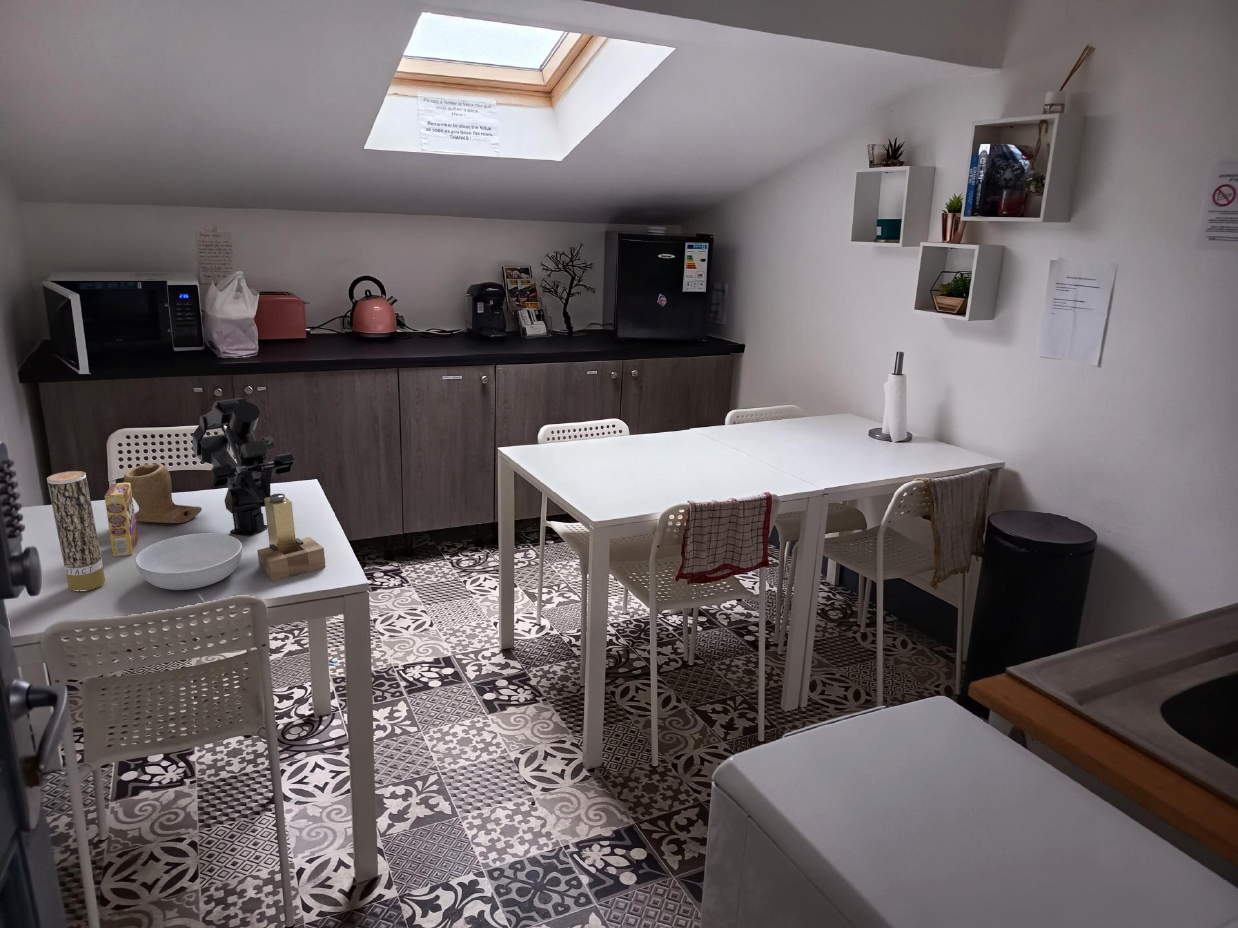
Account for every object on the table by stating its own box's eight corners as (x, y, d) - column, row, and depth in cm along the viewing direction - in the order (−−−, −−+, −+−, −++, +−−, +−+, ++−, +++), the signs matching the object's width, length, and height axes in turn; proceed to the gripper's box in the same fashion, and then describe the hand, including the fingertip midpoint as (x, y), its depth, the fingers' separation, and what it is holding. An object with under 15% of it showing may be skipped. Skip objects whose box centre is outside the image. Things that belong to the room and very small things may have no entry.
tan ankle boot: (120, 526, 212) (110, 470, 208) (153, 510, 223) (145, 456, 219) (172, 532, 209) (163, 475, 205) (204, 515, 220) (196, 461, 216)
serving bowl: (135, 608, 172) (130, 578, 170) (145, 567, 190) (140, 540, 188) (246, 592, 180) (242, 562, 178) (245, 554, 198) (241, 527, 196)
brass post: (271, 558, 195) (263, 494, 190) (288, 554, 198) (281, 490, 193) (280, 567, 191) (273, 501, 186) (298, 562, 193) (291, 497, 188)
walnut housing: (259, 570, 190) (256, 547, 188) (311, 556, 197) (309, 535, 196) (272, 582, 184) (269, 559, 182) (325, 568, 192) (323, 545, 190)
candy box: (134, 555, 196) (123, 494, 191) (113, 557, 194) (101, 495, 190) (140, 540, 204) (130, 481, 199) (120, 543, 202) (109, 483, 198)
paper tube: (79, 579, 184) (58, 471, 176) (111, 578, 184) (92, 471, 176) (62, 593, 177) (39, 481, 169) (96, 592, 178) (74, 481, 170)
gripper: (206, 433, 190) (228, 492, 185) (289, 420, 201) (311, 475, 197) (200, 458, 198) (221, 515, 193) (280, 444, 209) (301, 497, 205)
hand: (265, 500), depth 197 cm, fingers closed
